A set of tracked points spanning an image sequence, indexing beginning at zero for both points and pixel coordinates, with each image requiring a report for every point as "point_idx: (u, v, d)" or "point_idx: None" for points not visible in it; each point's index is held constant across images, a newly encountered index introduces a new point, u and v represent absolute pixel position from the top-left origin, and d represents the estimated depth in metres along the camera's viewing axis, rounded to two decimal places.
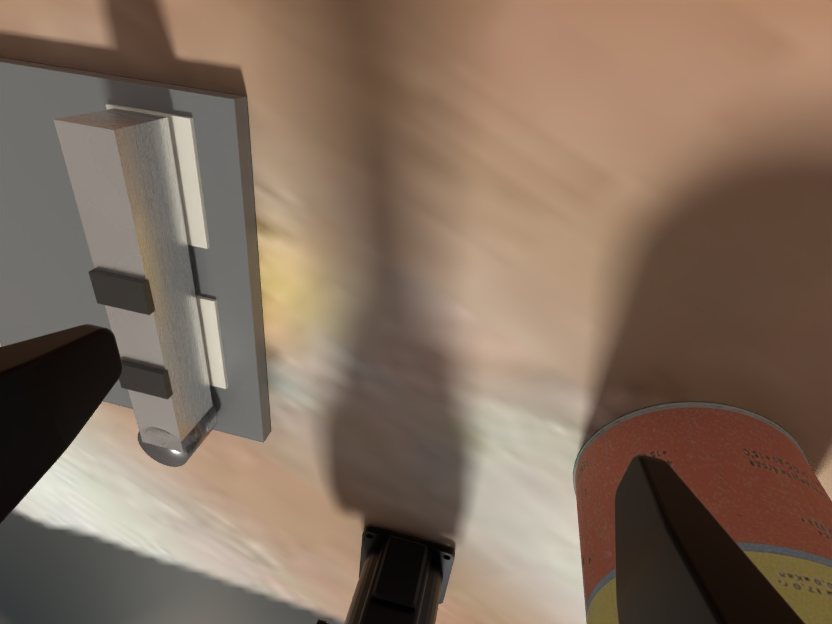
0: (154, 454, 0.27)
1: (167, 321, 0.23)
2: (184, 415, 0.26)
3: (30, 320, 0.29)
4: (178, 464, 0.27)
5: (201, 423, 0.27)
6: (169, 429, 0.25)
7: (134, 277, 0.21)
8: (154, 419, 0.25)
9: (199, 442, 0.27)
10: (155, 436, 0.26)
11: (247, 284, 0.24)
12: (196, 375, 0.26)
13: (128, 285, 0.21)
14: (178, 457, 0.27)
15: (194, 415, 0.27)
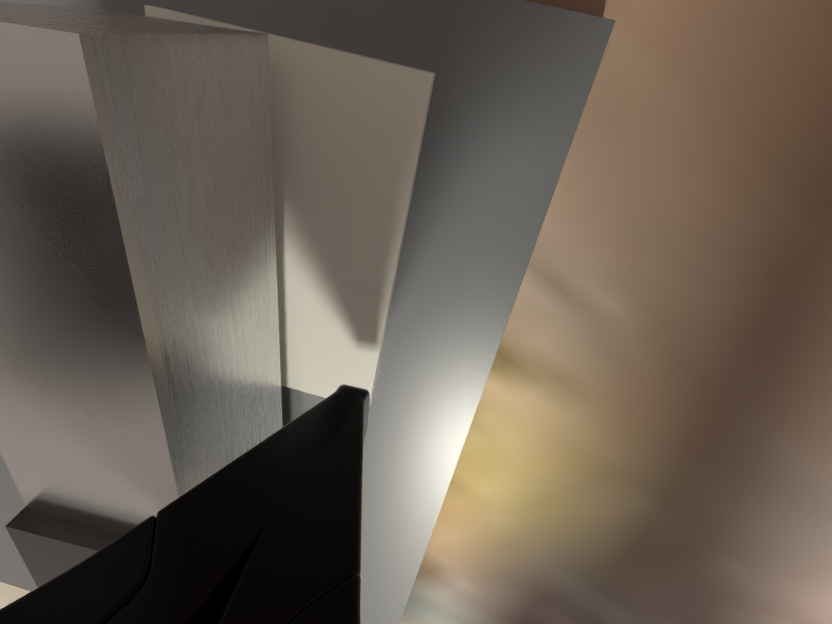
0: None
1: None
2: None
3: None
4: None
5: None
6: None
7: None
8: None
9: None
10: None
11: (442, 482, 0.10)
12: None
13: None
14: None
15: None
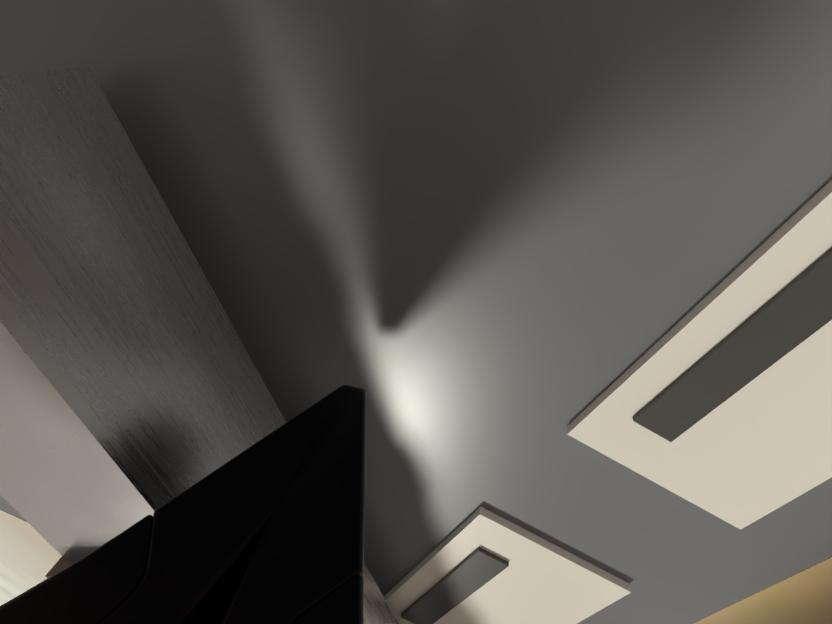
0: None
1: None
2: None
3: None
4: None
5: None
6: None
7: None
8: None
9: None
10: None
11: (740, 593, 0.10)
12: None
13: None
14: None
15: None
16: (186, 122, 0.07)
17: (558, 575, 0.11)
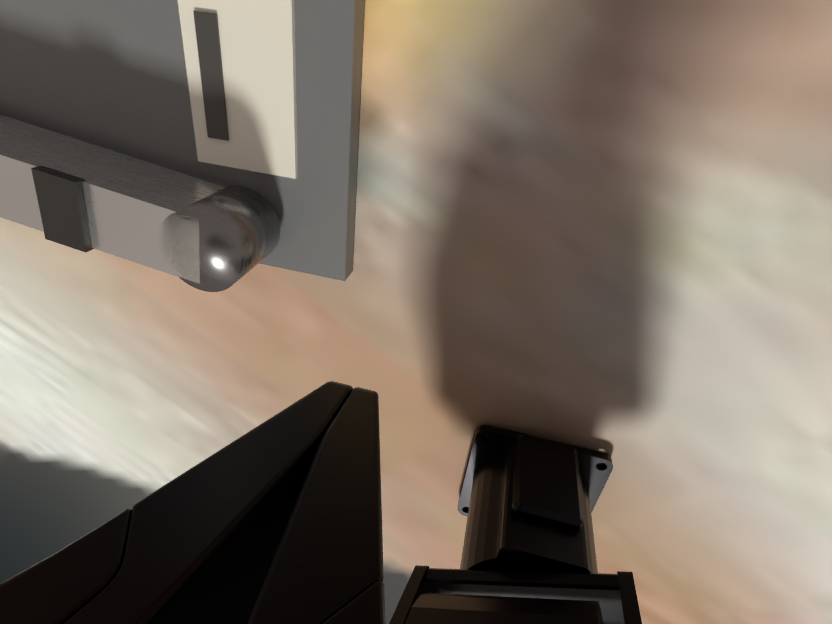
0: (221, 276, 0.17)
1: None
2: (149, 193, 0.16)
3: None
4: (230, 242, 0.16)
5: (210, 195, 0.17)
6: (154, 219, 0.16)
7: None
8: (143, 236, 0.16)
9: (226, 205, 0.16)
10: (178, 253, 0.17)
11: None
12: (136, 169, 0.18)
13: None
14: (214, 233, 0.16)
15: (181, 193, 0.17)
16: None
17: (247, 4, 0.15)
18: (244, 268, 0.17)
